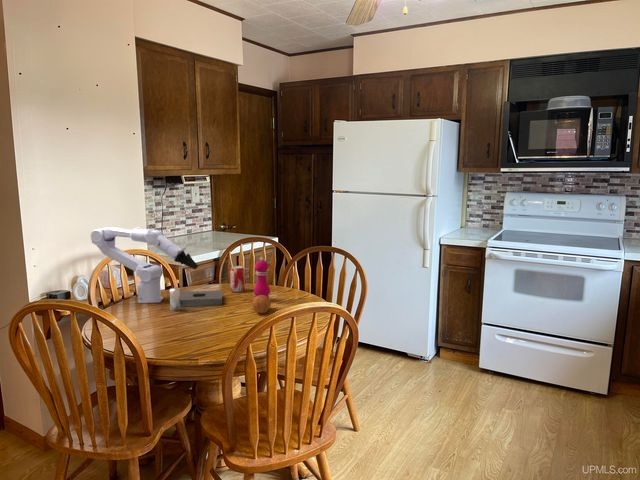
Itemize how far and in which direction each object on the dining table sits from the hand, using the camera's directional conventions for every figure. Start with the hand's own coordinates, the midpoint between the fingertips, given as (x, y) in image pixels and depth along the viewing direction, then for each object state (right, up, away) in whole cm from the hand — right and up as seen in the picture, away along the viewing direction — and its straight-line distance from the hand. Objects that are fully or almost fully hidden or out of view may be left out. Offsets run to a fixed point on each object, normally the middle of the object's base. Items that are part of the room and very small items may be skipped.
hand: (194, 266), depth 208 cm
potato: (+30, -19, -9) cm, 37 cm away
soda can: (+15, -14, +25) cm, 32 cm away
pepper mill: (+29, -16, +8) cm, 34 cm away
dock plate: (+1, -16, +5) cm, 17 cm away
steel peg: (-6, -18, -7) cm, 20 cm away
